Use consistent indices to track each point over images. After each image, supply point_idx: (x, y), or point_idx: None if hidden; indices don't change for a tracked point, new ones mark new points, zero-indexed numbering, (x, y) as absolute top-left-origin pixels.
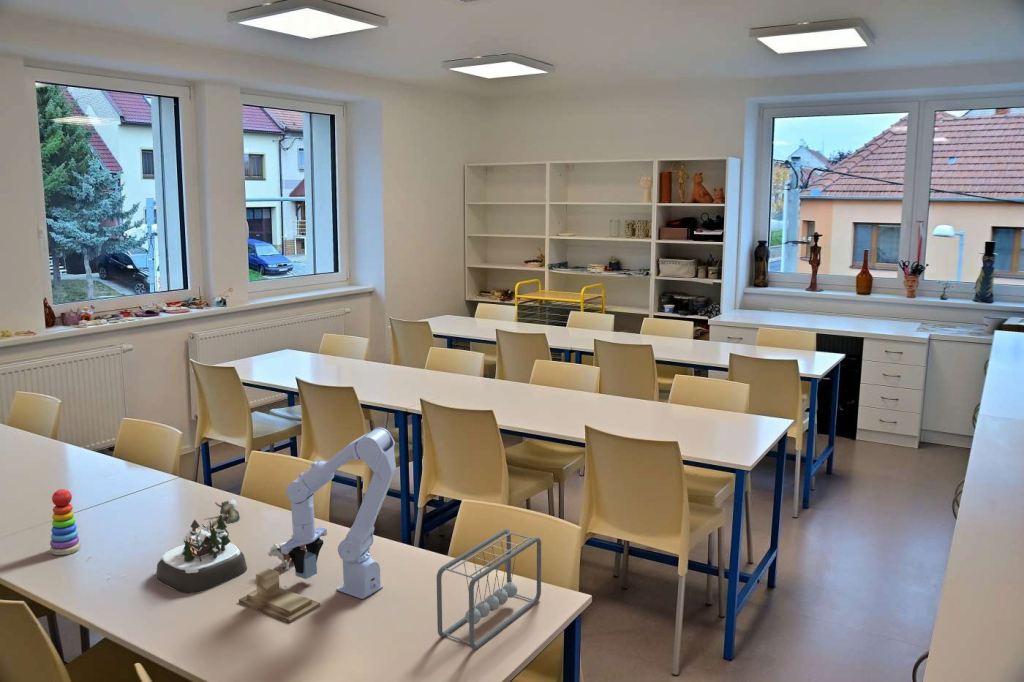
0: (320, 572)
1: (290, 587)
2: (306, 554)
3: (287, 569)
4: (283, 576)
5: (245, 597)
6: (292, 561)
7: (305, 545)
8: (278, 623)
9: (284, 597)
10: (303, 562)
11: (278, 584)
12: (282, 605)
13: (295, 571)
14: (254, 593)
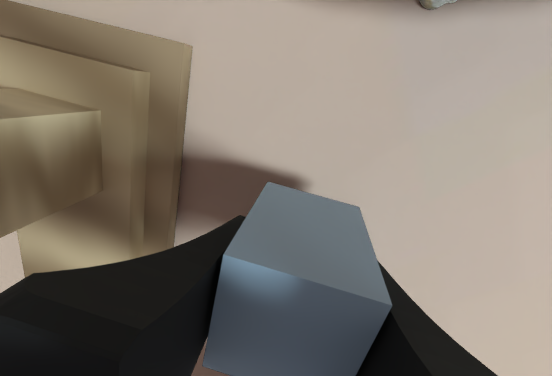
0: (432, 222)
1: (233, 162)
2: (306, 344)
3: (429, 2)
4: (334, 39)
5: (13, 16)
6: (187, 243)
7: (424, 373)
8: (18, 262)
9: (80, 238)
10: (207, 335)
11: (58, 206)
12: (34, 262)
13: (260, 194)
14: (14, 70)
